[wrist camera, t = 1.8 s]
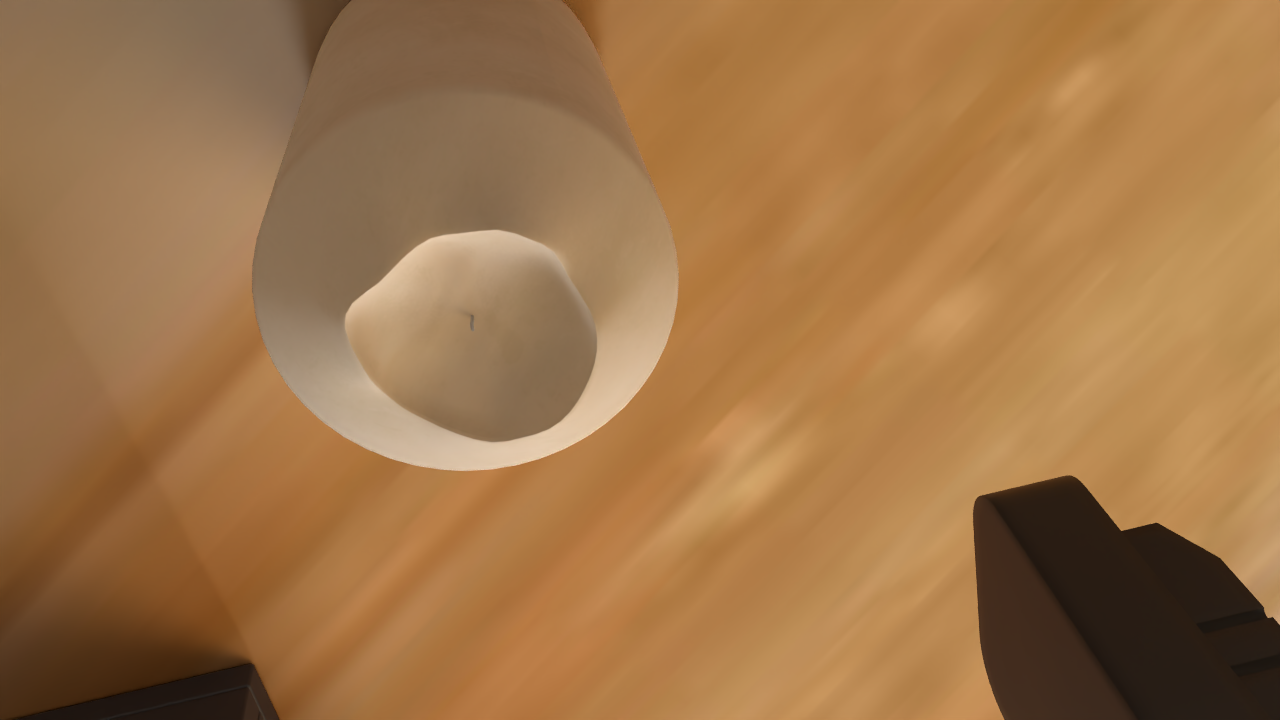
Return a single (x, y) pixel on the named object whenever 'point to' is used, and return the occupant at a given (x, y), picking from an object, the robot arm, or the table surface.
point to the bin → (181, 701)
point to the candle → (463, 236)
